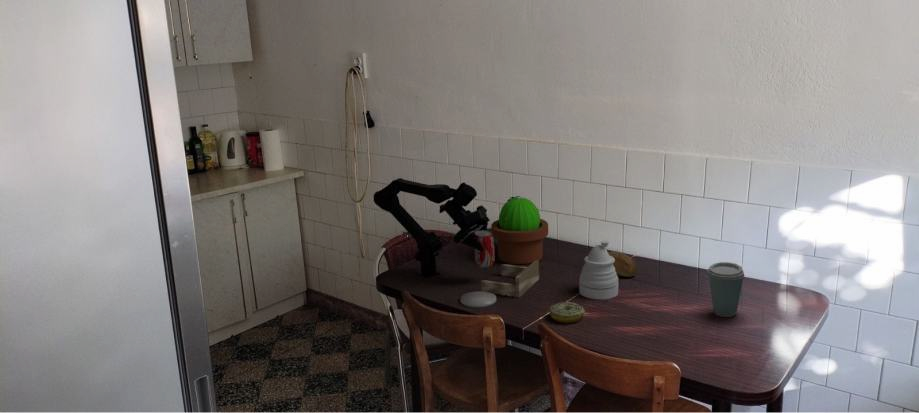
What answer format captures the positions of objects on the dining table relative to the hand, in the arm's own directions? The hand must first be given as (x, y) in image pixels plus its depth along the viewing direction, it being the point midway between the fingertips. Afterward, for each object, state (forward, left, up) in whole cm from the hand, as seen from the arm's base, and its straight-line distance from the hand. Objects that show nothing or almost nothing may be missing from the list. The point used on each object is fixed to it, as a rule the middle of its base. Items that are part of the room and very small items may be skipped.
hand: (487, 247), depth 244 cm
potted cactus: (-13, +26, -13) cm, 32 cm away
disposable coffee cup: (+69, +39, -13) cm, 80 cm away
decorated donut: (+40, +1, -14) cm, 42 cm away
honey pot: (+32, +23, -13) cm, 41 cm away
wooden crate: (+7, +4, -13) cm, 16 cm away
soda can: (-1, 0, -7) cm, 7 cm away
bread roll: (+24, +40, -14) cm, 48 cm away
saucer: (+11, -12, -13) cm, 21 cm away
